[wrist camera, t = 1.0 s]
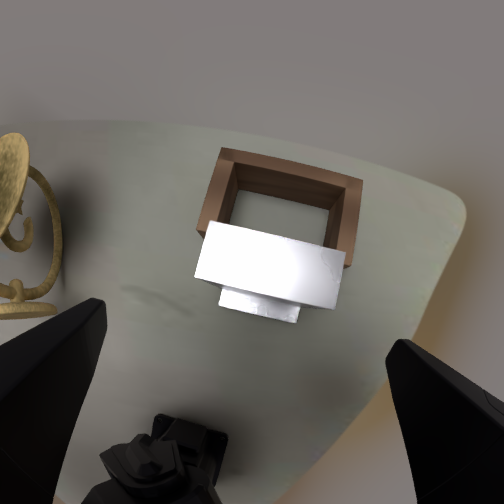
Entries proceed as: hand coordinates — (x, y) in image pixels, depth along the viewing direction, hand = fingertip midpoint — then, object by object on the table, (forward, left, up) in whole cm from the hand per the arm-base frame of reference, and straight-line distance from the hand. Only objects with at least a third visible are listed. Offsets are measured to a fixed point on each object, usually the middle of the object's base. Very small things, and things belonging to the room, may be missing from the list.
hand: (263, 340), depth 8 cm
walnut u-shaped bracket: (+8, 0, -15) cm, 17 cm away
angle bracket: (+3, 0, -15) cm, 15 cm away
